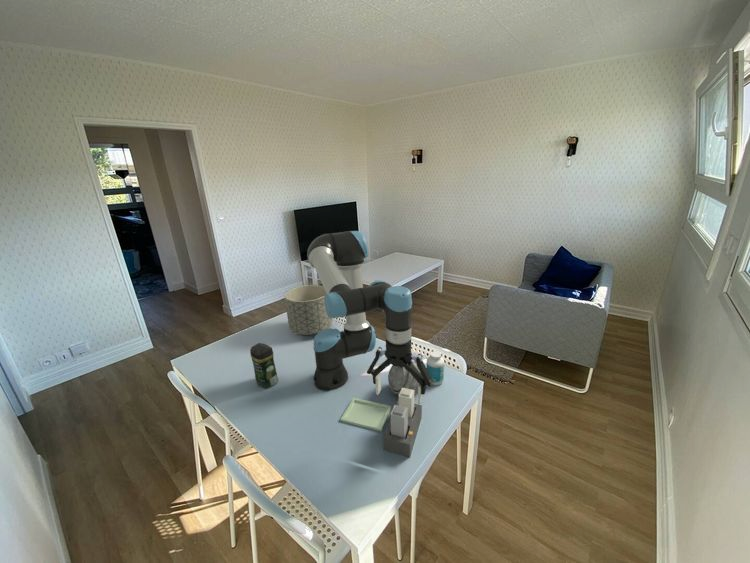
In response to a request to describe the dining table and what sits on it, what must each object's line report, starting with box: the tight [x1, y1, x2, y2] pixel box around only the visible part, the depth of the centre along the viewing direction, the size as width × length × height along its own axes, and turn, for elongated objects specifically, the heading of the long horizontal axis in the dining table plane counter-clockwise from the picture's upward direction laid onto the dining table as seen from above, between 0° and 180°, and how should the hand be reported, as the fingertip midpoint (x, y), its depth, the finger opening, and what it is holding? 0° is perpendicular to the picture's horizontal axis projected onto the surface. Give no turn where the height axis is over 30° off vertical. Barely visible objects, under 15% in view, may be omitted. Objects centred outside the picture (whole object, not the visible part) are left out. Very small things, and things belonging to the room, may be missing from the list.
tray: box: [340, 397, 393, 433], centre depth 116 cm, size 16×12×2 cm
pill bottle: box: [426, 350, 445, 386], centre depth 132 cm, size 8×7×14 cm
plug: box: [390, 404, 408, 439], centre depth 101 cm, size 4×4×13 cm
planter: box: [284, 284, 333, 336], centre depth 178 cm, size 25×25×24 cm
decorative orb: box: [387, 360, 420, 396], centre depth 125 cm, size 15×14×15 cm
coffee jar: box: [249, 342, 279, 389], centre depth 134 cm, size 10×8×19 cm
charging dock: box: [382, 388, 423, 458], centre depth 105 cm, size 9×18×15 cm, turn 160°
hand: (398, 396), depth 97 cm, fingers open, 13 cm apart
